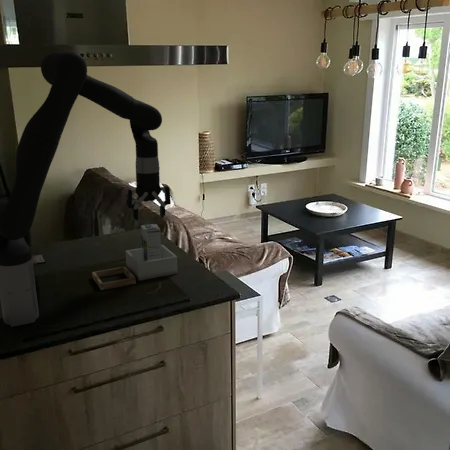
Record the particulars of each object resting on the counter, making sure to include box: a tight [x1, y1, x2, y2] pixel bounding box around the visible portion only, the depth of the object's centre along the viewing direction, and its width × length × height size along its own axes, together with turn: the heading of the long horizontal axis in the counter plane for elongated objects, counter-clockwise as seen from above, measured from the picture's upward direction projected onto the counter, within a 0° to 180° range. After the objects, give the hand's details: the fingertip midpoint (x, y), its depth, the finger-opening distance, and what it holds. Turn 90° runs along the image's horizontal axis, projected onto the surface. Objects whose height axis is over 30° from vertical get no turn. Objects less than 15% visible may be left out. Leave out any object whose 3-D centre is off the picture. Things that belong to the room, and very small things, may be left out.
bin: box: [125, 244, 179, 281], centre depth 177 cm, size 14×14×6 cm
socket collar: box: [91, 265, 137, 291], centre depth 169 cm, size 11×11×2 cm
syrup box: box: [140, 223, 162, 262], centre depth 176 cm, size 6×6×14 cm
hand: (149, 218), depth 172 cm, fingers open, 8 cm apart
